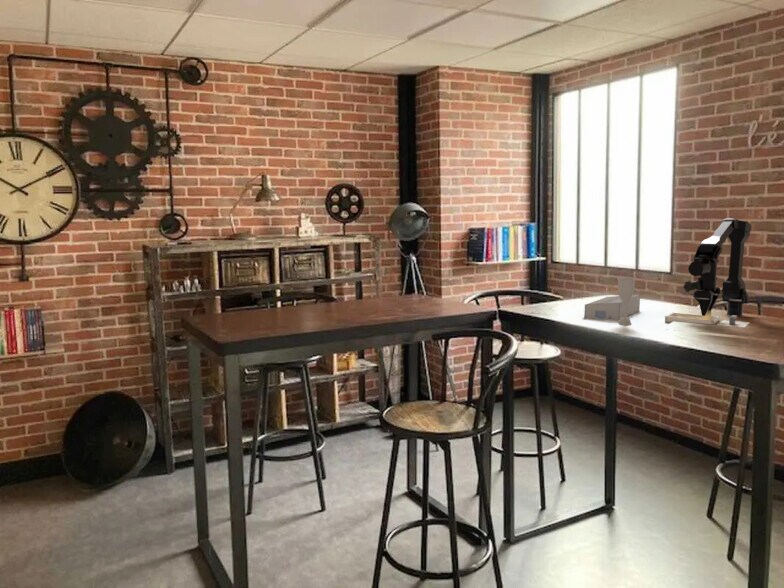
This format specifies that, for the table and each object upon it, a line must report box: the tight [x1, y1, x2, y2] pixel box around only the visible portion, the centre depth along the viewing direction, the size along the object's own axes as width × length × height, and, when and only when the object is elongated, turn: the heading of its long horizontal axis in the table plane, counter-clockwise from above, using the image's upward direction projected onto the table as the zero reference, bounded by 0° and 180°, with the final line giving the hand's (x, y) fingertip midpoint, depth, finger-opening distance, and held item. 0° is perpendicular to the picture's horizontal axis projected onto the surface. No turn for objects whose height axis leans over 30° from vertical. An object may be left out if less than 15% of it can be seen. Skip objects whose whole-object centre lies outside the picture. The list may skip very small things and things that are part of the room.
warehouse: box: [583, 294, 641, 321], centre depth 282 cm, size 30×14×8 cm, turn 144°
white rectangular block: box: [716, 315, 751, 328], centre depth 251 cm, size 13×10×4 cm
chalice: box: [616, 277, 637, 326], centre depth 257 cm, size 7×7×18 cm
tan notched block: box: [677, 310, 712, 320], centre depth 259 cm, size 6×12×5 cm, turn 53°
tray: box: [664, 312, 720, 325], centre depth 260 cm, size 11×18×2 cm, turn 53°
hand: (706, 314), depth 256 cm, fingers open, 9 cm apart
